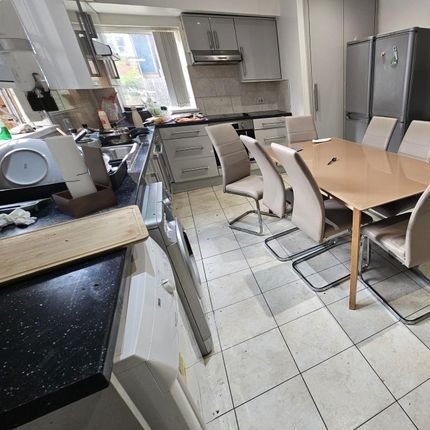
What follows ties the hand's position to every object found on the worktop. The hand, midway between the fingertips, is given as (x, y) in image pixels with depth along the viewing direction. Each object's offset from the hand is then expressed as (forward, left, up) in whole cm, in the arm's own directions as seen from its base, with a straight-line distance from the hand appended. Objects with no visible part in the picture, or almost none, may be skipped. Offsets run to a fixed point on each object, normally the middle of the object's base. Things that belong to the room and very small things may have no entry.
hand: (46, 111), depth 85 cm
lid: (+4, +5, -20) cm, 21 cm away
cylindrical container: (0, 0, -33) cm, 33 cm away
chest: (0, 0, -34) cm, 34 cm away
